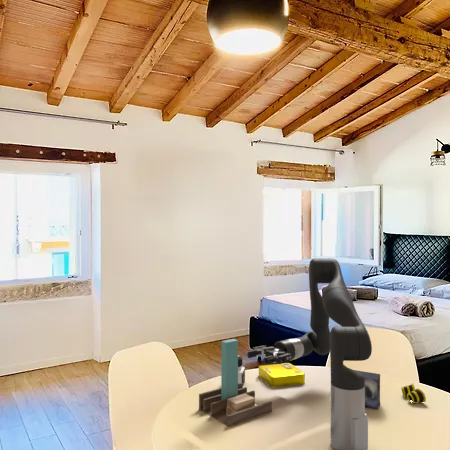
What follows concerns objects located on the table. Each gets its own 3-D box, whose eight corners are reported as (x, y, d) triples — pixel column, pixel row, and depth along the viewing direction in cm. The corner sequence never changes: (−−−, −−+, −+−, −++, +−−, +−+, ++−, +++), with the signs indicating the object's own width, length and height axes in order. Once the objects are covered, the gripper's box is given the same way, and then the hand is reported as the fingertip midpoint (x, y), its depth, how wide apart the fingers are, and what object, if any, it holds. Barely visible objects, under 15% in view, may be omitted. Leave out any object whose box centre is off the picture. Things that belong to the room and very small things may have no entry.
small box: (345, 404, 152) (345, 374, 152) (349, 398, 158) (349, 368, 158) (377, 410, 147) (377, 379, 147) (380, 403, 153) (380, 373, 153)
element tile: (256, 376, 182) (257, 364, 182) (289, 372, 187) (289, 361, 187) (271, 388, 168) (271, 376, 168) (306, 384, 172) (306, 372, 172)
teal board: (237, 406, 146) (238, 340, 146) (225, 410, 143) (226, 342, 143) (233, 404, 148) (233, 338, 148) (221, 407, 145) (221, 341, 145)
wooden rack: (272, 416, 142) (272, 395, 142) (228, 431, 131) (228, 409, 131) (240, 400, 155) (240, 382, 155) (198, 413, 144) (198, 393, 144)
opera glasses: (401, 397, 161) (398, 383, 162) (415, 394, 161) (412, 380, 161) (412, 407, 152) (409, 393, 152) (427, 404, 152) (424, 390, 152)
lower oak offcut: (257, 412, 141) (257, 405, 141) (236, 420, 136) (236, 412, 136) (247, 407, 145) (247, 400, 145) (226, 414, 140) (226, 406, 140)
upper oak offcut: (254, 405, 141) (254, 397, 141) (236, 411, 136) (236, 403, 136) (245, 401, 144) (245, 393, 144) (227, 407, 140) (227, 399, 140)
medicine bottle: (242, 392, 163) (242, 359, 163) (223, 390, 165) (223, 358, 165) (245, 385, 170) (245, 354, 170) (226, 383, 172) (227, 353, 172)
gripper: (275, 335, 168) (242, 342, 159) (303, 344, 157) (270, 352, 147) (275, 355, 169) (242, 363, 159) (303, 364, 157) (270, 374, 147)
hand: (256, 358), depth 153 cm, fingers open, 8 cm apart
